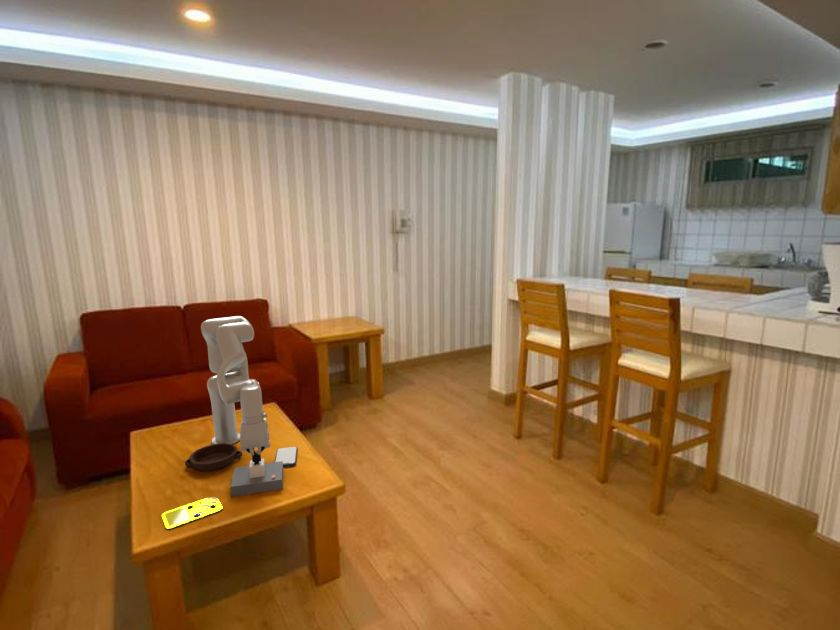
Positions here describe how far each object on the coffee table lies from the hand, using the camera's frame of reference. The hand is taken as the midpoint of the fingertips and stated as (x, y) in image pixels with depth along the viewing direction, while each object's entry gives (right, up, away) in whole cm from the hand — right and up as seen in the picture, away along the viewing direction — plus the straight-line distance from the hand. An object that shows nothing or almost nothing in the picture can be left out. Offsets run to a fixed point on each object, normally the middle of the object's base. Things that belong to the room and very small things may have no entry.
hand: (257, 463), depth 175 cm
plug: (0, -7, +2) cm, 8 cm away
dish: (-24, -6, +17) cm, 30 cm away
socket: (0, -8, +2) cm, 9 cm away
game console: (-17, -13, -16) cm, 26 cm away
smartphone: (+5, -5, +21) cm, 22 cm away
